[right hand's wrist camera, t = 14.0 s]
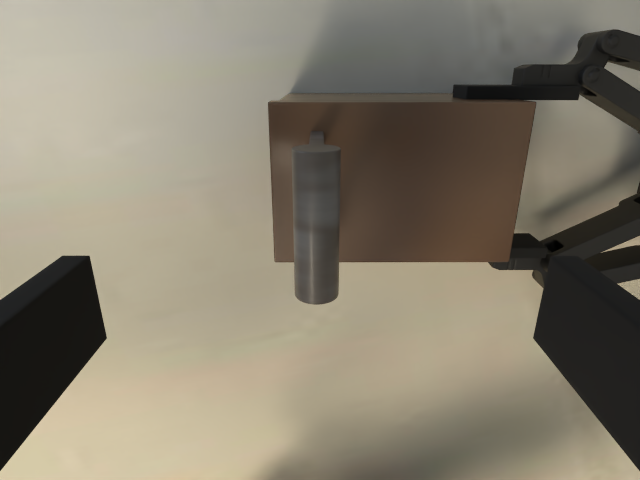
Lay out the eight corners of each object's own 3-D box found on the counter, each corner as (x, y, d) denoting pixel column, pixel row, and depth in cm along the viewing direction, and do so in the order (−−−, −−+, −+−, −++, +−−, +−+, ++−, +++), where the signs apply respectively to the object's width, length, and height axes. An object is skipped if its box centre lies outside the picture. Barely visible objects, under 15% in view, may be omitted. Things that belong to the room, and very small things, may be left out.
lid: (276, 254, 27) (258, 331, 19) (270, 100, 24) (245, 115, 16) (500, 254, 27) (577, 331, 19) (526, 100, 24) (632, 115, 16)
